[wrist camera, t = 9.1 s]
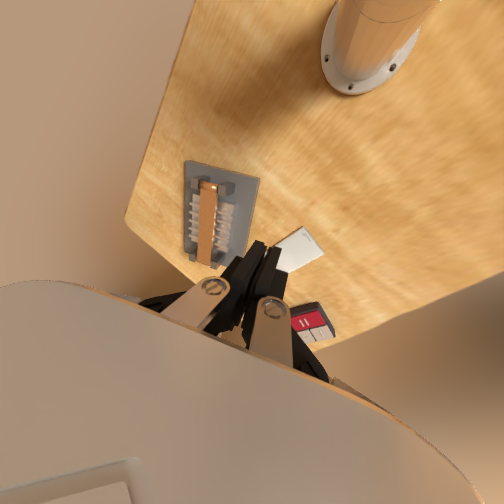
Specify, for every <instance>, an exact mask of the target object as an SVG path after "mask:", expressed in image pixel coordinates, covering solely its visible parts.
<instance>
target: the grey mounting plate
mask: <svg viewBox="0 0 504 504" xmlns="http://www.w3.org/2000/svg"><path fill="white" fill-rule="evenodd" d="M202 175H205V176H209V177H210V183H213V184H217V185H220V184H223V183H226V182H232V183H235V192H234V193H233V194H231V195H229V196H226V197H222V196H218V198H222V199H225V200H229V201H232V202H236V203H238V206H237V213H236V219H235V225H234V232H233V238H232V245H231V249H230V250H229V251H228V252H224V251H221V250H218V249H215V248H213V252H212V260H213V259H214V258H215V257H216V255H217V254H218V253H219V252H223V253H226V255H225V260H224V261H223V262H222V264H221V265H224V266H227V267H228V266H229V264H230V263H231V262H232V261H233V259H234V258H235V257H236V256H240V257H243V258H244V256H245V252H246V247H247V242H248V237H249V232H250V227H251V222H252V217H253V212H254V207H255V202H256V197H257V193H258V188H259V183H260V178H258V177H254V176H250V175H246V174H242V173H238V172H234V171H230V170H226V169H222V168H218V167H214V166H210V165H207V164H203V163H199V162H195V161H191V160H189V161H185V252H186V253H190V252H192V251H193V250H194V249H196V248H197V247H198V243H197V242H194V241H191V237H189V234H190V233H192V230H190V229H189V227H190V226H191V225H192V222H189V219H190V218H192V214H190V213H189V211H190V210H192V205H189V203H190V202H192V201H193V193H197V192H200V189H198V190H197V189H193V188H191V177H197V176H202Z"/></svg>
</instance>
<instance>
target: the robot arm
mask: <svg viewBox="0 0 504 504" xmlns="http://www.w3.org/2000/svg"><path fill="white" fill-rule="evenodd" d="M440 2H441V0H338V2H337V3H336V5H335V6H334V8H333V10H332V12H331V14H330V16H329V18H328V20H327V23H326V26H325V29H324V33H323V38H322V43H321V65H322V70H323V73H324V75H325V78H326V80H327V81H328V83H329V84H330V85H331V86H332V87H333V88H334V89H335V90H337V91H338V92H340V93H343V94H347V95H359V94H364V93H367V92H369V91H372V90H374V89H376V88H377V87H379V86H381V85H382V84H384V83H385V82H386V81H387V80H388V79H389V78H391V77H392V76H393V75H394V74H395V73H396V72H397V71H398V69H399V68H400V67H401V66H402V64H403V63H404V62H405V61H406V59H407V58H408V56H409V54H410V53H411V51H412V49H413V47H414V45H415V43H416V41H417V38H418V36H419V33H420V29H421V26H422V23H423V22H424V21H425V20H426V19H427V17H428V16H429V15H430V14H431V13H432V11H433V10H434V9H435V8H436V6H437V5H438V4H439V3H440ZM326 59H328V62H325V60H326ZM390 68H392V69H393V70H392V71H389V69H390ZM348 87H351V90H348ZM266 249H267V246H265V245H264V243H263V242H260V241H257V240H255V242H254V243H253V245H252V246H251V248H250V249H249V250H248V252H247V253H246V255H245V256H244V258H243V257H240V256H236V257H235V258H234V259H233V261H232V262H231V263H230V264H229V266H228V267H227V268H226V270H225V271H224V272H223V273H222V275H221V276H220V277H216V276H211V277H206V278H204V279H202V280H201V281H200V282H198V283H197V284H196V285H195V286H193V287H192V288H191V289H190V290H188V291H184V292H179V293H174V294H169V295H164V296H159V297H154V298H149V299H146V300H144V301H141V298H136V297H130V296H124V295H118V294H112V293H107V292H104V291H101V290H98V289H94V288H91V287H88V286H84V285H80V284H76V283H70V282H64V281H51V280H34V281H33V280H32V281H23V282H17V283H13V284H9V285H6V286H3V287H0V504H485V502H484V501H483V499H482V498H481V496H480V495H479V494H478V492H477V491H476V489H475V488H474V487H473V485H472V484H471V483H470V482H469V480H468V479H467V478H466V477H465V476H464V474H463V473H462V472H461V471H460V470H459V469H458V468H457V467H456V466H455V465H454V464H453V463H452V462H451V461H450V460H449V459H448V458H447V457H446V456H445V455H444V454H443V453H441V452H440V451H439V450H438V449H437V448H436V447H435V446H434V445H432V444H431V443H430V442H429V441H427V440H426V439H425V438H424V437H422V436H421V435H420V434H418V433H417V432H416V431H415V430H413V429H412V428H411V427H409V426H408V425H406V424H405V423H403V422H402V421H400V420H399V419H397V418H396V417H395V416H393V415H392V414H391V413H390V412H389V411H387V410H386V409H384V408H383V407H381V406H379V405H378V404H377V403H375V402H373V401H372V400H370V399H369V398H367V397H366V396H364V395H362V394H361V393H359V392H358V391H356V390H355V389H353V388H352V387H350V386H348V385H347V384H345V383H344V382H342V381H341V380H339V379H337V378H336V377H334V378H333V379H332V378H330V377H329V376H328V375H327V373H326V371H325V369H324V368H323V366H322V365H321V364H320V362H319V361H318V360H317V358H316V357H315V356H314V354H313V353H312V352H311V350H310V349H309V348H308V346H307V345H306V344H305V343H304V341H303V340H302V339H301V337H300V336H299V335H298V333H297V332H296V331H295V329H294V328H293V327H292V325H291V316H290V309H289V307H288V305H287V304H286V303H285V302H284V301H283V296H284V291H285V287H286V282H287V277H288V272H285V271H282V270H279V269H276V267H277V264H278V260H279V257H280V254H281V251H282V248H279V247H276V246H273V248H272V247H269V249H268V251H267V253H266V255H265V252H266ZM264 256H265V257H264ZM244 312H245V313H244ZM243 314H244V317H243V321H242V325H241V328H243V331H242V337H243V339H244V341H245V343H246V347H245V348H243V347H241V346H238V345H236V344H233V343H231V342H229V341H226V340H223V339H221V338H220V337H221V335H222V332H225V331H228V330H230V331H232V330H233V327H234V325H235V326H238V325H239V323H240V321H241V319H242V316H243Z"/></svg>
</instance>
